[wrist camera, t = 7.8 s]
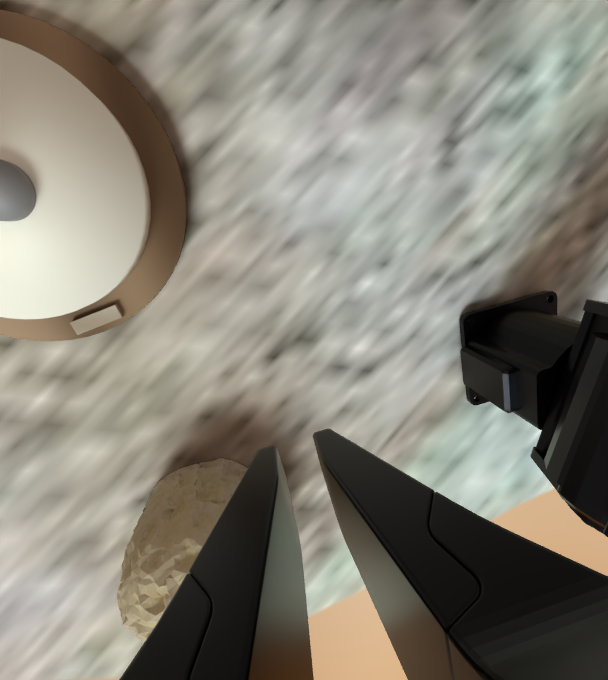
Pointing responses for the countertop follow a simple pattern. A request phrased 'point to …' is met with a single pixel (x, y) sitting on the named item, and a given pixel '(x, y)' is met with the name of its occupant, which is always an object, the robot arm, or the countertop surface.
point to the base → (158, 171)
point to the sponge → (172, 538)
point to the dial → (63, 191)
